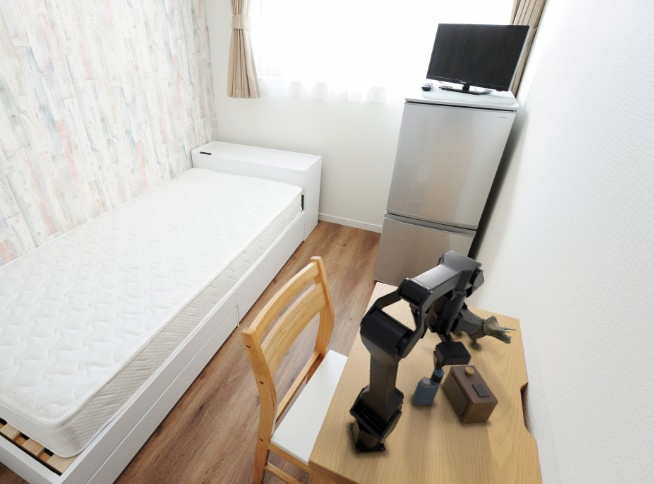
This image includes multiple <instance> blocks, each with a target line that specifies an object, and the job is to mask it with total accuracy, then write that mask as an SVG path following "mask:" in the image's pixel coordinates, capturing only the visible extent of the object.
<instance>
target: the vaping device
mask: <svg viewBox="0 0 654 484" xmlns="http://www.w3.org/2000/svg"><path fill="white" fill-rule="evenodd" d="M444 376H445V370H444V369H443V367H442V368H441V369H439V370H435V369H434V368H433V371H432V374H431V376H430V377H426V376H423V377H422V378H420V380H419V381H418V382H417V385H416V387H415V390H414V392H413V395H412V403H414V405H415V406H417V407H423V406H429V405H432V404H433V402H434V401H435V397H436V396H437V393H438V391H439V390H440V389H439V388H440V386H441V384H442V381H443V379H444Z"/></svg>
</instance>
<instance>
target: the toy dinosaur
mask: <svg viewBox="0 0 654 484" xmlns="http://www.w3.org/2000/svg"><path fill="white" fill-rule="evenodd" d="M472 313H473V314H474V315H475V317H476V318H477V319H478V321H479V322H480V323H481V326H480V327H479V328H478V329H477V330H476V331H475V332H474V333H473V335H469V340H470V341H471V342H472V347H473V348H474V349H479V350H480V348H482V346H481V345H480V344H479V343H478V339H482V338H485V337H486V336H487V337H492V338H494V339H496V340H499V341H501V342H502V343H504V344H506V345H510V344H511V343H512V336H511V335H508V333H509V334H510V333H511V331H517V329H516V328H511V327H508V326H500V323H499V321H498V319H497V317H496V316H495V315H491V316H490V317H487V318H484V317H481V316H479V315H478V314H476V313H474V312H472ZM506 333H507V334H506ZM450 334H453V333H452V332H450ZM457 335H458V336H460V335H463V332H462V331H460V332H459V334H457Z"/></svg>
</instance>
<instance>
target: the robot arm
mask: <svg viewBox="0 0 654 484" xmlns="http://www.w3.org/2000/svg"><path fill="white" fill-rule="evenodd" d="M482 266H483V264H482V262H479V261H477V260H475V259H473V258H471V257H468V256H466V255H464V254H462V253H459V252H457V251H455V250H453V249H451V250H449V251H447V252H445V253H442V256H440V257H438V259H437V265H436V266H434V267H432V268H430V269H429V270H427V271H425V272H422V273H421V274H419V275H416V276H414V277H412V278H410V277H405V278H404V279H403V280H402V282H401V283H400V285H398V287H397V288H396V289H395V290H394V291H391V292H388V293H387V294H384V295H382V296H380V297H378V298H376V300H374V302H373V304H372V305H371V306H370V307H369V309H368V310H367V311H366V313H365V314H364V315H363V317H362V319H361V320H360V323H359V336H360V340H361V343H362V344H363V346H364V347H365V348H366V350H367V351H368V353H369V355H370V356H369V383H368V384H367V385H366V386H364V387H362V388H361V389H360V391H359V393H358V394H357V396H356V398H355V400H354V402H353V404H352V406H351V407H350V408H349V411H348V412H349V415H350V416H351V417H353V418H354V420H353V422H350V424H349V429H350V433H351V438H352V441H353V445H354V449H355V452H356V453H357V454H371V453H373V454H374V453H384V452H386V447H385V443H384V442H385V441H386V440H387V438H388V437H390V435H391V434H392V433H393V432H394V430H395V428H396V427H397V425H398V423H399V421H400V419H401V417H402V415H403V411H402V409H403V404H404V399H405V394H404V392H402V390H401V389H399V388H397V387H396V385H397V377H398V371H399V363H400V362H401V361H402V359H403V360H404V359H406V358H407V357H408V356H409V355H410V354H411V353H412V351H413V349H414V348H415V347H416V345H417V343H419V341H420V340H423V339H424V337H425V336H426V333H427V331H428V330H429V331H430V334H436V335H437V336H438V338H439V339H440V342H439V343H437V344H435V347H434V350H433V351H432V358H433V360H432V361H433V370H434V369H435V370H439V369H441V368H442V369H443V368H444V367H446V366H447V367H448V366H463V365H470V362H471V360H472V358H473V356H472V355H471V352H470V351H469V350H468V348H467V347H466V345H465V343H464V342H462V341H459V340H458V341H455V340H454V338H453V336H452V335H451V334H453V335H458V334H459V332H460V331H462V332H461V333H467V334H468V335H469V336H471V335H473V333H474V332H475V331H476V330H477V329H478V328H479V327H480V326H481V323H480V322H479V321H478V319H477V318H476V317H475V315H474V314H475V313H474V312H472V311H471V310H470V309H469V307H468V305H467V303H466V301H465V299H468V298H470V297H471V296H472V295H473V294H474V293H475V292H477V290H478V289H479V288H481V286H483V284H484V283H485V277H484V270H483V269H481V267H482ZM402 300H403V301H405V302H406V303H408V307H409V308H410V313H411V316H412V319H413V324H414V327H415V329H412V328H410V327H409V326H408V325H406V324H404V323H402V322H401V321H399V320H398V319H396V318H395V317H394V316H392V315H391V314H389V313H387V312H386V311H384V310H383V309H384V308H387V307H390V306H391V305H393V304H396V303H398V302H400V301H402ZM473 313H474V314H473ZM450 332H452V333H450ZM459 335H460V334H459Z"/></svg>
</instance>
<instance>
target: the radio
mask: <svg viewBox="0 0 654 484" xmlns="http://www.w3.org/2000/svg"><path fill="white" fill-rule="evenodd" d="M442 388H443V390H444V392H445V394H446V396H447V398H448V400H449V401H450V403H451V405H452V407H453V408H454V410H455V412H456V414H457V416H458V418H459V420H460V421H461V423H462V424H479V423H487V421H489V419H490V417H491V415H492V414H493V412H494V410H495V409H496V407H497V406H498V404H499V400H498V399H497V397H496V396H495V394H494V393H493V391H492V390H491V388H490V387H489V386H488V384H487V382H486V380H485V379H484V378H483V376H482V375H481V373H480V372H479V370H478V369H477V367H476V366H475V365H474V364H468V365H450V368H449V371H448V373H447V375H446V377H445V379H444V381H443V383H442Z"/></svg>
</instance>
